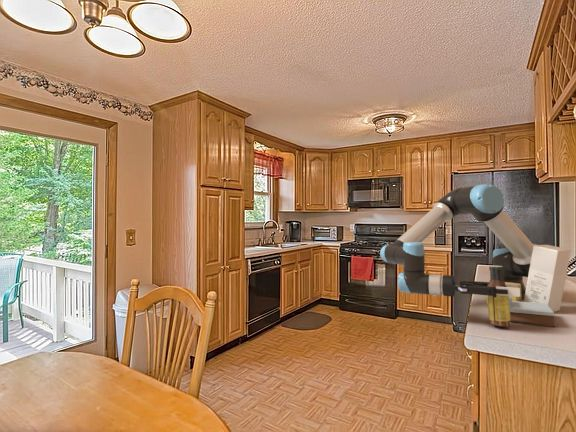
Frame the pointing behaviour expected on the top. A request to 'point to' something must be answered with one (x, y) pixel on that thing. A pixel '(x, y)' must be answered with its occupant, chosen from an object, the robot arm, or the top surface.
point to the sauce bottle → (498, 299)
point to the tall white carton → (547, 275)
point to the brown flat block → (532, 319)
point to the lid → (530, 308)
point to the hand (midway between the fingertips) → (518, 290)
